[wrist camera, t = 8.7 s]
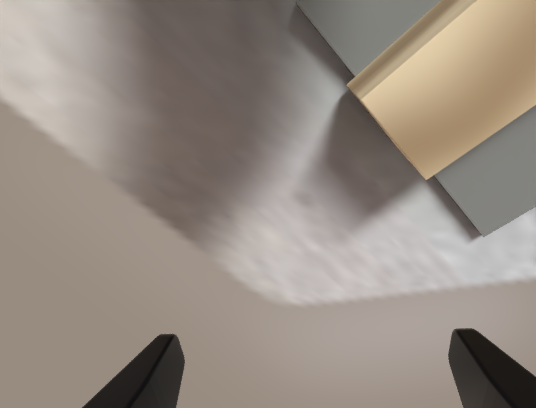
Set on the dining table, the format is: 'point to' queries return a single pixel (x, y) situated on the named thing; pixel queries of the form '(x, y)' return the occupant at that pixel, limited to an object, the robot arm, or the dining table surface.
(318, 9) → the board
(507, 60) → the wooden building block
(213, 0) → the dining table surface
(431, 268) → the dining table surface
